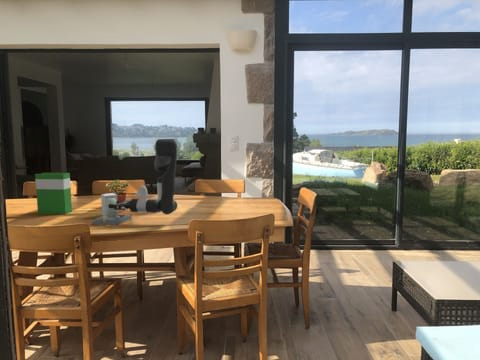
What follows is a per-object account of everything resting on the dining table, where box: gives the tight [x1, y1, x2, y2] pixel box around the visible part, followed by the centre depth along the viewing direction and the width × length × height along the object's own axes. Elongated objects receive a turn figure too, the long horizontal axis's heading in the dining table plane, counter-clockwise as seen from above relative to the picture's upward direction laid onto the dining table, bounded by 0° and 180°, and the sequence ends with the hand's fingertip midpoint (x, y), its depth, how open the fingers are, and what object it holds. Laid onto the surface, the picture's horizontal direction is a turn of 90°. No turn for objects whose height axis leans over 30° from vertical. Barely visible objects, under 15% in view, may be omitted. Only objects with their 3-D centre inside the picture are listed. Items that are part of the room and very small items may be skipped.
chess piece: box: [134, 185, 148, 199], centre depth 252 cm, size 10×10×15 cm
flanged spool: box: [106, 198, 120, 220], centre depth 220 cm, size 8×8×11 cm
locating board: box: [91, 213, 132, 227], centre depth 220 cm, size 18×14×4 cm
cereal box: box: [34, 172, 73, 215], centre depth 242 cm, size 18×7×24 cm, turn 84°
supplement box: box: [100, 192, 119, 216], centre depth 235 cm, size 7×7×13 cm
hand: (112, 204), depth 219 cm, fingers open, 8 cm apart
